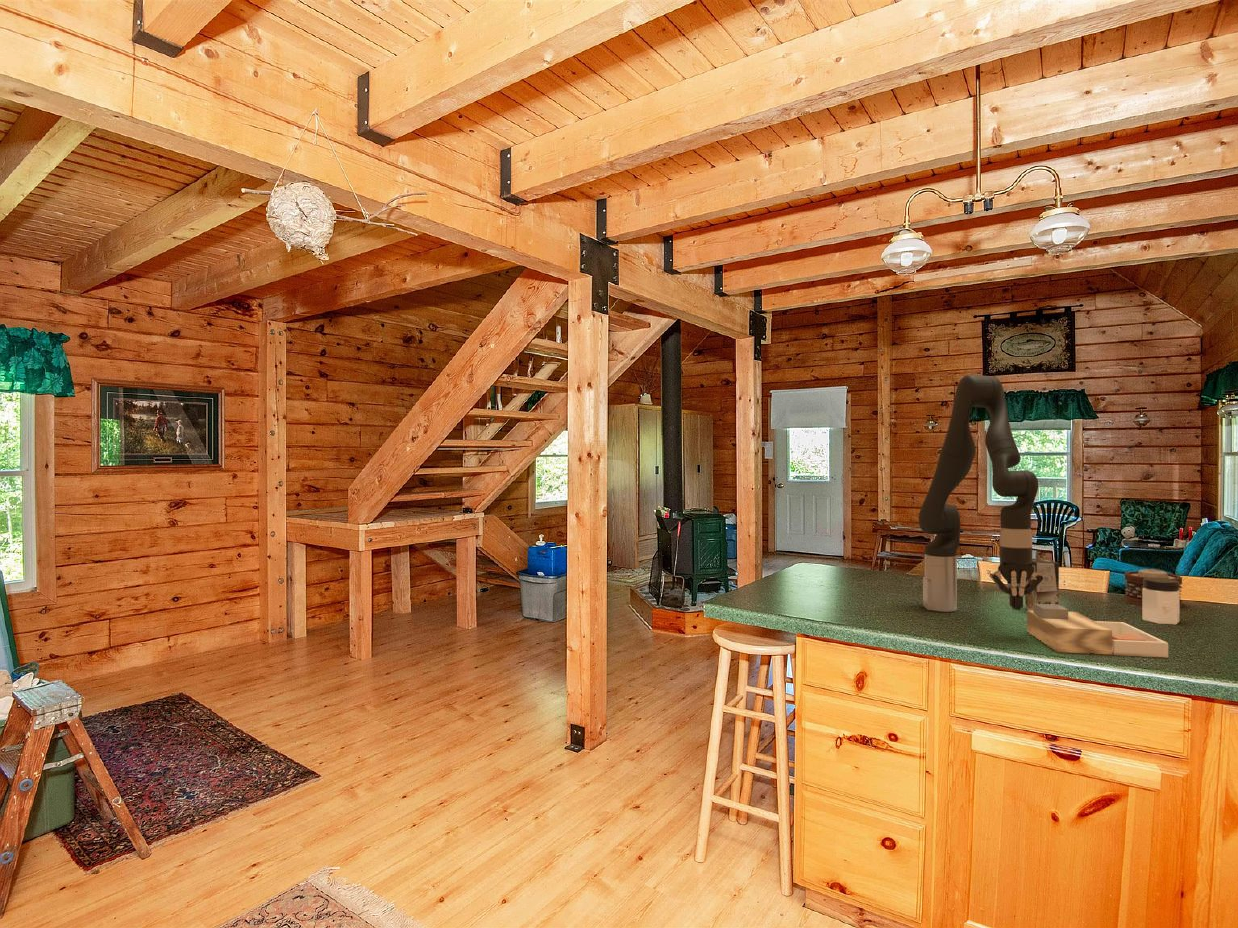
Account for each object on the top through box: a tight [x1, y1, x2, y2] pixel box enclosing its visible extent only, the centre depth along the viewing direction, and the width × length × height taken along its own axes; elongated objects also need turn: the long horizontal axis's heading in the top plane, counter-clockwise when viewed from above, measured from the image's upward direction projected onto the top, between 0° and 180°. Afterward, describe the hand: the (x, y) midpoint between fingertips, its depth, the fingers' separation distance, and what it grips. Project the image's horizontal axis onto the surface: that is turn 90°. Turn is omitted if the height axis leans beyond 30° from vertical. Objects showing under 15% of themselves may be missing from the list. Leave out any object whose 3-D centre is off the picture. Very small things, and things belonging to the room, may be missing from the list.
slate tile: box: [1034, 604, 1069, 619], centre depth 177 cm, size 6×6×2 cm
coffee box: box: [1024, 558, 1060, 611], centre depth 206 cm, size 9×6×16 cm
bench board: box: [1026, 609, 1113, 655], centre depth 173 cm, size 12×19×6 cm, turn 168°
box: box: [1094, 620, 1169, 659], centre depth 171 cm, size 11×20×4 cm, turn 168°
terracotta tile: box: [1112, 633, 1145, 641], centre depth 168 cm, size 6×6×2 cm
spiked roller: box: [1124, 568, 1184, 609], centre depth 215 cm, size 15×11×15 cm
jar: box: [1141, 578, 1181, 626], centre depth 194 cm, size 9×8×12 cm
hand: (1016, 609), depth 179 cm, fingers closed
